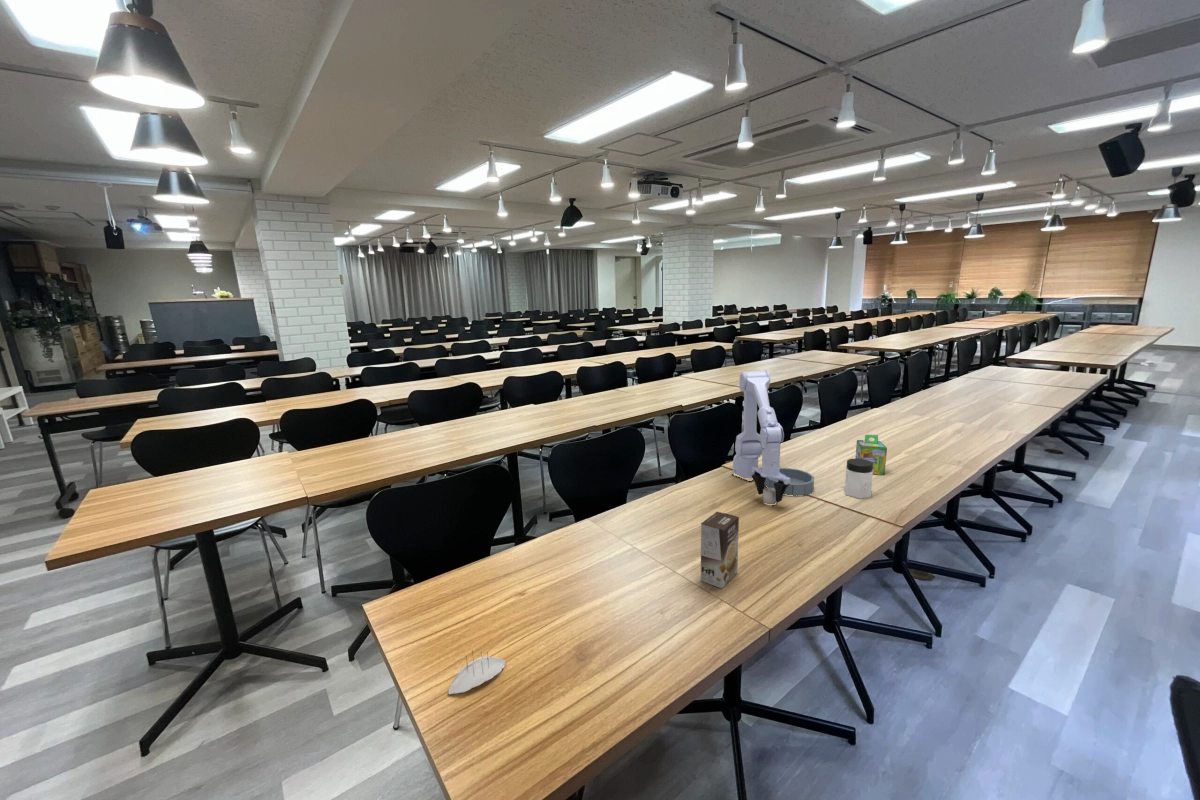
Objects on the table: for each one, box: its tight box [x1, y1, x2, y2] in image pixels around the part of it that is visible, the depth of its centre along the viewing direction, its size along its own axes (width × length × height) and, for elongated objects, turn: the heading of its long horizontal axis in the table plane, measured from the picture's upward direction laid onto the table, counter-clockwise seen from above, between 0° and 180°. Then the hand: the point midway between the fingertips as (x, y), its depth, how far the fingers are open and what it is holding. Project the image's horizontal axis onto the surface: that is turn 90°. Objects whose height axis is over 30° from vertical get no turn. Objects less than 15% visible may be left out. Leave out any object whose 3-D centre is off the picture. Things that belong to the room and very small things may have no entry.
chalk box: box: [854, 434, 888, 476], centre depth 187 cm, size 9×9×15 cm
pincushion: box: [447, 650, 507, 695], centre depth 92 cm, size 12×6×6 cm, turn 129°
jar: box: [844, 458, 874, 499], centre depth 167 cm, size 9×8×12 cm
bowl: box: [764, 467, 815, 497], centre depth 176 cm, size 17×17×4 cm
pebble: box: [762, 487, 777, 504], centre depth 163 cm, size 4×4×5 cm
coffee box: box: [700, 511, 740, 589], centre depth 121 cm, size 9×6×16 cm
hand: (769, 497), depth 163 cm, fingers open, 7 cm apart
